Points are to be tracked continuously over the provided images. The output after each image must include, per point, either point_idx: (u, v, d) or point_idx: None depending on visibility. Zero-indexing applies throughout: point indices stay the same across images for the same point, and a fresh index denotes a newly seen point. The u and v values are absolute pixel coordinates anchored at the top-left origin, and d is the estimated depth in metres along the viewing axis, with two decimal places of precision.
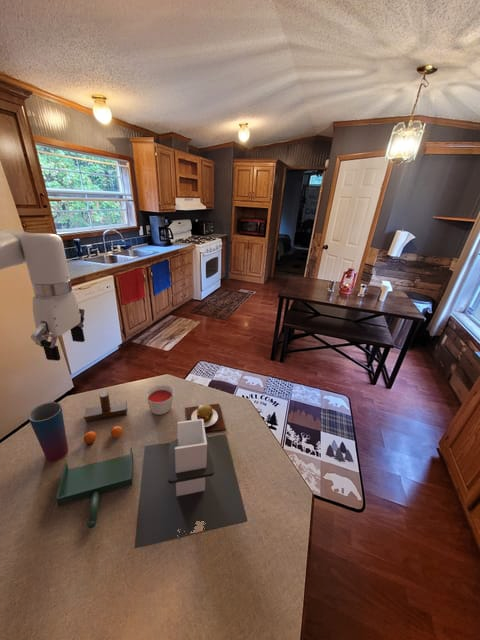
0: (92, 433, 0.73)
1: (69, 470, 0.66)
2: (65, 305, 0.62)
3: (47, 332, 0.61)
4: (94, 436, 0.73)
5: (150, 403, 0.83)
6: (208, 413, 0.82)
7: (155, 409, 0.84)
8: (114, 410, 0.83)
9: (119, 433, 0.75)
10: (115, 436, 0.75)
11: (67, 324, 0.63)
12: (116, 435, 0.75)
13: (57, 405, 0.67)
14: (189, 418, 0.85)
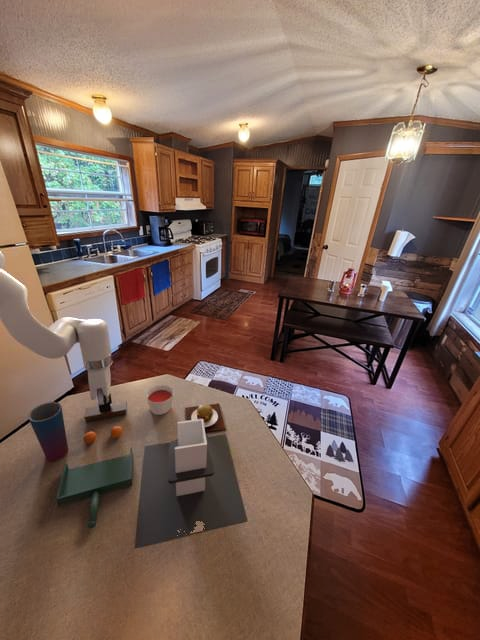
0: (92, 433, 0.73)
1: (69, 470, 0.66)
2: (109, 371, 0.78)
3: None
4: (94, 436, 0.73)
5: (150, 403, 0.83)
6: (208, 413, 0.82)
7: (155, 409, 0.84)
8: (114, 410, 0.83)
9: (119, 433, 0.75)
10: (115, 436, 0.75)
11: None
12: (116, 435, 0.75)
13: (57, 405, 0.67)
14: (189, 418, 0.85)
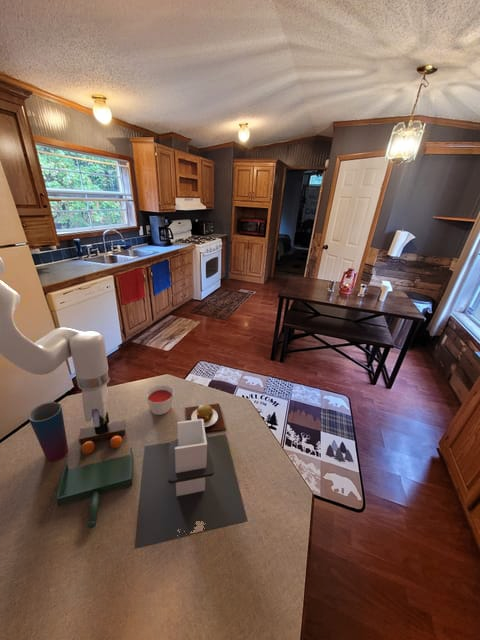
0: (91, 451, 0.70)
1: (69, 470, 0.66)
2: (105, 388, 0.70)
3: None
4: (93, 448, 0.71)
5: (150, 403, 0.83)
6: (208, 413, 0.82)
7: (155, 409, 0.84)
8: (112, 431, 0.75)
9: None
10: None
11: None
12: None
13: (57, 405, 0.67)
14: (189, 418, 0.85)
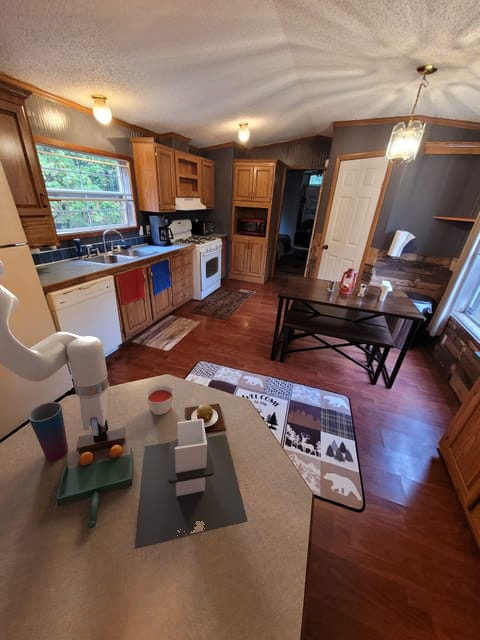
0: None
1: (69, 470, 0.66)
2: (104, 395, 0.67)
3: None
4: (91, 453, 0.68)
5: (150, 403, 0.83)
6: (208, 413, 0.82)
7: (155, 409, 0.84)
8: (111, 439, 0.72)
9: None
10: (114, 447, 0.70)
11: None
12: (115, 446, 0.70)
13: (57, 405, 0.67)
14: (189, 418, 0.85)
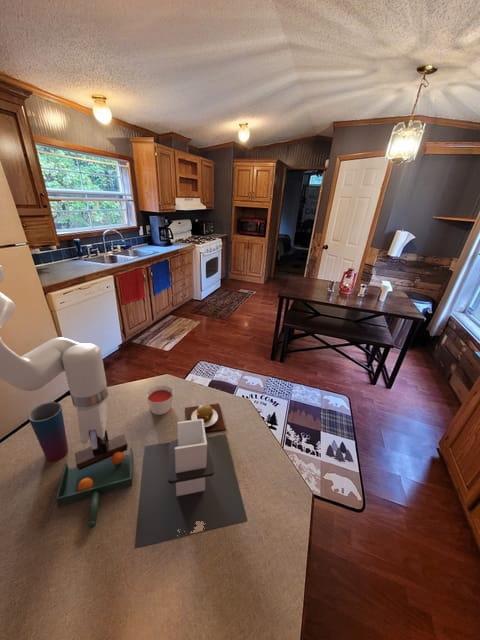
0: None
1: (69, 470, 0.66)
2: (104, 405, 0.63)
3: None
4: None
5: (150, 403, 0.83)
6: (208, 413, 0.82)
7: (155, 409, 0.84)
8: (113, 447, 0.68)
9: (122, 456, 0.68)
10: (117, 459, 0.67)
11: (105, 422, 0.64)
12: (118, 457, 0.67)
13: (57, 405, 0.67)
14: (189, 418, 0.85)
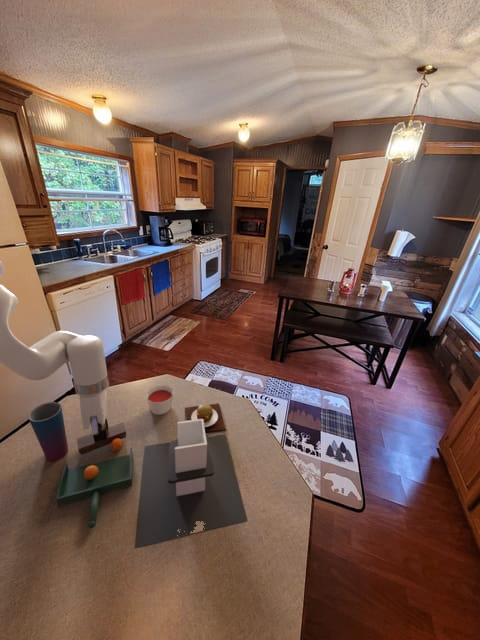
0: (92, 476, 0.63)
1: (69, 470, 0.66)
2: (104, 394, 0.67)
3: None
4: (94, 477, 0.64)
5: (150, 403, 0.83)
6: (208, 413, 0.82)
7: (155, 409, 0.84)
8: (112, 434, 0.73)
9: None
10: None
11: None
12: None
13: (57, 405, 0.67)
14: (189, 418, 0.85)
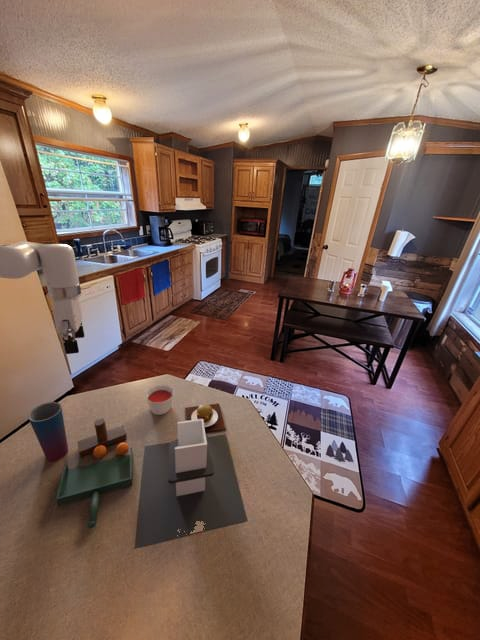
0: None
1: (69, 470, 0.66)
2: (77, 304, 0.72)
3: None
4: None
5: (150, 403, 0.83)
6: (208, 413, 0.82)
7: (155, 409, 0.84)
8: (113, 437, 0.73)
9: None
10: (120, 443, 0.71)
11: (79, 321, 0.74)
12: None
13: (57, 405, 0.67)
14: (189, 418, 0.85)
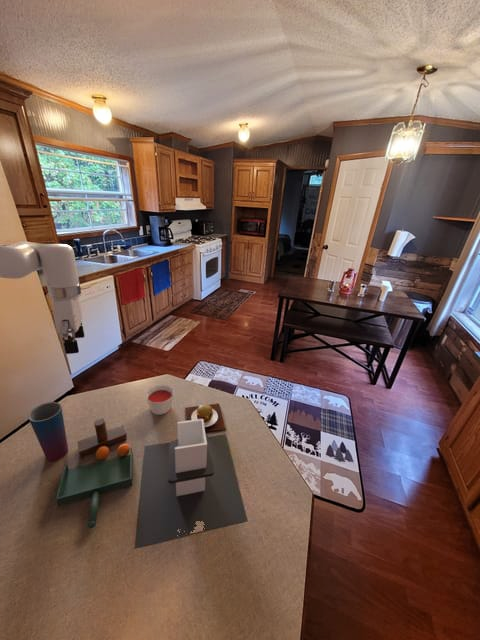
0: None
1: (69, 470, 0.66)
2: (77, 304, 0.72)
3: None
4: None
5: (150, 403, 0.83)
6: (208, 413, 0.82)
7: (155, 409, 0.84)
8: (113, 437, 0.73)
9: None
10: (122, 445, 0.70)
11: (79, 321, 0.74)
12: (122, 444, 0.71)
13: (57, 405, 0.67)
14: (189, 418, 0.85)
